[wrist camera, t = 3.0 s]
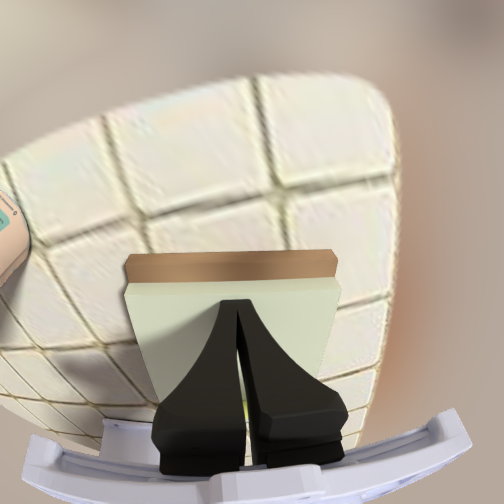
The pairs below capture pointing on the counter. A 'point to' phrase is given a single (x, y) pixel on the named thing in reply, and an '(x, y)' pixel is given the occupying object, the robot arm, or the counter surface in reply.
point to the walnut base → (230, 266)
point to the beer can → (11, 237)
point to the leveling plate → (205, 313)
